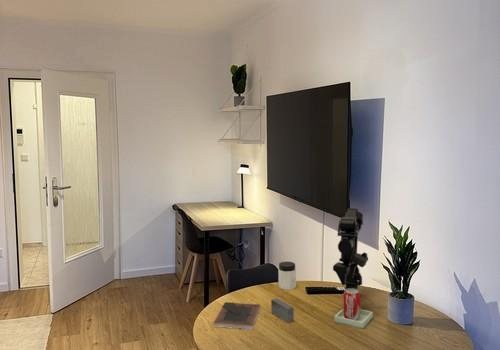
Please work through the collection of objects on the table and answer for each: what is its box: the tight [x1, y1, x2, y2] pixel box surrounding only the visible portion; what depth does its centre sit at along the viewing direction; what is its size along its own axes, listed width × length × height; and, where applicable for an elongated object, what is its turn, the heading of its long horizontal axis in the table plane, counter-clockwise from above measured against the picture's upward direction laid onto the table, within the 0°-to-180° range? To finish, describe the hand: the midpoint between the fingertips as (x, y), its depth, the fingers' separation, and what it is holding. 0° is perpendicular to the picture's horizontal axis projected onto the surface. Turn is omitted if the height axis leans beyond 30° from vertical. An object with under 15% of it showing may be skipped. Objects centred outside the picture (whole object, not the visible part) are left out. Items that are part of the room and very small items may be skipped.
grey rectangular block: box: [270, 297, 295, 323], centre depth 197 cm, size 3×12×6 cm, turn 32°
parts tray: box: [333, 308, 374, 330], centre depth 193 cm, size 12×12×2 cm
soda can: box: [342, 288, 361, 320], centre depth 193 cm, size 7×7×12 cm
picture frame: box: [212, 301, 261, 331], centre depth 198 cm, size 16×2×22 cm
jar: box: [277, 261, 297, 291], centre depth 231 cm, size 9×8×12 cm
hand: (347, 281), depth 202 cm, fingers open, 9 cm apart
